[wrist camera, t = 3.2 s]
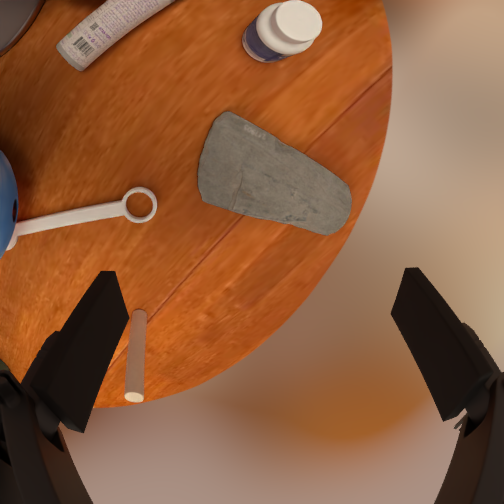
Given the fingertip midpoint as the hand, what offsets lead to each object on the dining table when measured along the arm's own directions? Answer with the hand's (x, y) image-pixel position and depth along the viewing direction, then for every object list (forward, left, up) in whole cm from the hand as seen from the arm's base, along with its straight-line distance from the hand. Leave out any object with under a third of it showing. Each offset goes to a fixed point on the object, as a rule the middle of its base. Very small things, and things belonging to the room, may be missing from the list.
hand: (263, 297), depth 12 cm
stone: (+6, +9, -21) cm, 23 cm away
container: (-21, +1, -20) cm, 29 cm away
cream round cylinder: (+4, -22, -22) cm, 31 cm away
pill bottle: (-6, +15, -22) cm, 28 cm away
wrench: (-14, -13, -22) cm, 29 cm away
